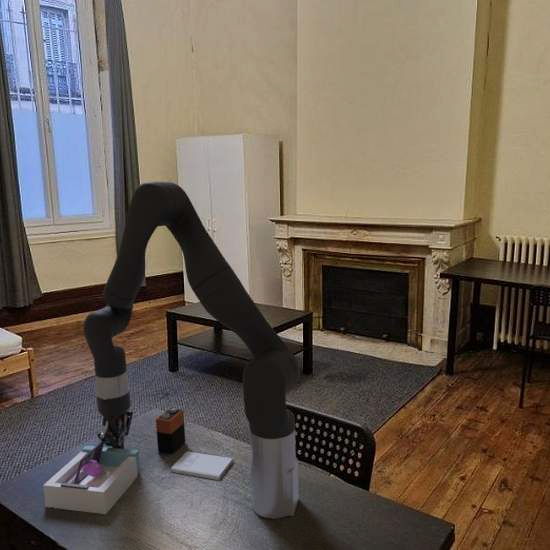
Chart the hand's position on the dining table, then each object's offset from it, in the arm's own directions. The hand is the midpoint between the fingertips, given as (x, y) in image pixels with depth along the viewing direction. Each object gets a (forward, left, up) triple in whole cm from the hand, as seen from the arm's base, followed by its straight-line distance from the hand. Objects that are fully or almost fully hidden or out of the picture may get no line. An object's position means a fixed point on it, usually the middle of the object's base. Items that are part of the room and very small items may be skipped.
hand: (119, 457), depth 126 cm
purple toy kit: (+1, +9, 0) cm, 9 cm away
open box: (0, +11, -2) cm, 12 cm away
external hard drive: (-20, -2, -2) cm, 21 cm away
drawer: (0, +10, -1) cm, 10 cm away
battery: (-10, -10, -2) cm, 14 cm away
